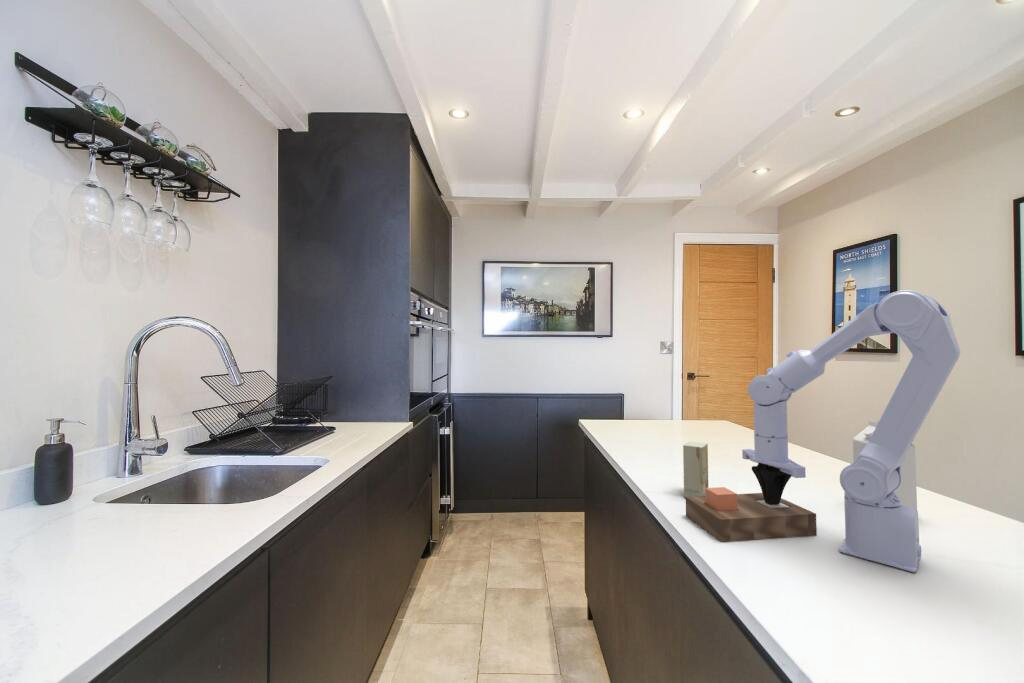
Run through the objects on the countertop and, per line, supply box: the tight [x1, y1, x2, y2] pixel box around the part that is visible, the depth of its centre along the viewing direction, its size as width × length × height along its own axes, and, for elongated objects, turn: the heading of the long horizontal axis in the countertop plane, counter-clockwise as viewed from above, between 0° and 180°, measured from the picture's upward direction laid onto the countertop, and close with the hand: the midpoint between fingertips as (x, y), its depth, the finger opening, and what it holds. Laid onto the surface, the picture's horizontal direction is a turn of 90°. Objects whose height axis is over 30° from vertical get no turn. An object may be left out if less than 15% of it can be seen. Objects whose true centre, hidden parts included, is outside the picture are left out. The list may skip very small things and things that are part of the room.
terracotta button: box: [705, 486, 738, 511], centre depth 82 cm, size 4×4×4 cm
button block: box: [685, 492, 818, 543], centre depth 82 cm, size 19×12×4 cm, turn 97°
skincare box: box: [682, 441, 709, 498], centre depth 100 cm, size 6×4×12 cm
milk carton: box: [852, 420, 918, 510], centre depth 88 cm, size 7×7×19 cm
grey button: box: [757, 500, 789, 508], centre depth 83 cm, size 4×4×4 cm
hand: (772, 504), depth 83 cm, fingers closed, pressing on grey button
